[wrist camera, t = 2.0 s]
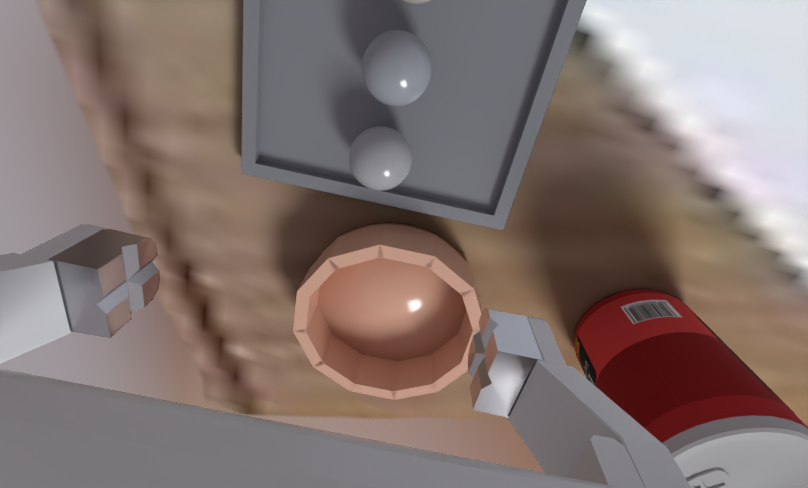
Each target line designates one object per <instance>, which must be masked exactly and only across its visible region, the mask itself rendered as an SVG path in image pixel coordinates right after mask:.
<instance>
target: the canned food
mask: <svg viewBox="0 0 808 488" xmlns="http://www.w3.org/2000/svg"><path fill="white" fill-rule="evenodd" d="M575 351H576V356H577V358H578V360H579V362H580V365H581V367H582V369H583V371H584V373H585V375H586V378H587V380H589V381H590V382H591V383H592V384H593V385H594V386H596V387H597V388H598V389H599V390H600V391H601V392H603V393H604V394H605V395H606V396H607V397H608V398H610V399H611V400H612V401H613V402H614V403H615V404H617V405H618V406H619V407H620V408H621V409H622V410H624V411H625V412H626V413H627V414H628V415H630V416H631V417H632V418H633V419H634V420H635V421H637V422H638V423H639V424H640V425H641V426H642V427H644V428H645V429H646V430H647V431H648V432H649V433H651V434H652V435H653V436H654V437H655V438H656V439H658V440H659V441H660V442H661V443H662V444H663V445H665V446H666V447H667V448H668V450H669V451H670V453H671V455H672V456H673V458H674V460H675V461H676V463H677V465H678V466H679V468H680V470H681V472H682V473H683V475H684V477H685V478H686V480H687V482H688V483H689V485H690V487H691V488H808V427H807V426H806V425H805V424H804V423H803V422H802V421H801V420H800V419H799V418H798V417H797V416H796V415H795V413H794V412H793V411H792V410H791V409H790V408H789V407H788V406H787V405H786V404H785V403H784V402H783V401H782V400H781V399H780V398H779V397H778V396H777V395H776V394H775V393H774V392H773V391H772V390H771V389H770V388H769V387H768V386H767V385H766V384H765V383H764V382H763V381H762V380H761V379H760V378H759V377H758V376H757V375H756V374H755V373H754V372H753V371H752V370H751V369H750V368H749V367H748V366H747V365H746V364H745V363H744V362H743V361H742V360H741V359H740V358H739V357H738V356H737V355H736V354H735V353H734V352H733V351H732V350H731V349H730V348H729V347H728V346H727V345H726V344H725V343H724V342H723V341H722V340H721V339H720V338H719V337H718V336H717V335H716V334H715V333H714V332H713V331H712V330H711V329H710V328H709V327H708V326H707V325H706V324H705V323H704V322H703V321H702V320H701V319H700V318H699V317H698V316H697V315H696V314H695V313H694V312H693V311H692V310H691V309H690V308H689V307H688V306H687V305H686V304H684V303H683V302H682V301H680V300H679V299H677V298H675V297H673V296H670V295H668V294H666V293H663V292H661V291H657V290H652V289H635V290H627V291H624V292H620V293H616V294H614V295H612V296H609V297H607V298H605V299H603V300H602V301H600V302H598V303H597V304H595V305H594V306H593V307H592V308H590V309H589V310H588V311H587V312H586V314H585V315H584V316H583V317H582V318H581V320H580V322H579V324H578V325H577V328H576V331H575Z"/></svg>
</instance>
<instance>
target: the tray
mask: <svg viewBox="0 0 808 488" xmlns="http://www.w3.org/2000/svg"><path fill="white" fill-rule="evenodd" d="M585 3H586V0H431V1H429V2H426V3H422V4H411V3H407V2H404V1H402V0H243V78H242V165H241V174H246V175H250V176H255V177H260V178H264V179H269V180H273V181H278V182H283V183H287V184H292V185H296V186H301V187H306V188H310V189H315V190H319V191H324V192H329V193H333V194H338V195H342V196H347V197H352V198H356V199H361V200H365V201H370V202H375V203H379V204H384V205H388V206H393V207H398V208H402V209H407V210H411V211H416V212H421V213H425V214H430V215H434V216H439V217H444V218H448V219H453V220H457V221H462V222H466V223H471V224H476V225H480V226H485V227H489V228H494V229H499V230H503V228H504V226H505V223H506V220H507V217H508V215H509V212H510V209H511V206H512V204H513V201H514V198H515V195H516V193H517V190H518V187H519V184H520V182H521V179H522V176H523V173H524V171H525V168H526V165H527V162H528V160H529V157H530V154H531V152H532V149H533V146H534V143H535V141H536V138H537V135H538V132H539V130H540V127H541V124H542V121H543V119H544V116H545V113H546V110H547V108H548V105H549V102H550V99H551V97H552V94H553V91H554V88H555V86H556V83H557V80H558V77H559V75H560V72H561V69H562V66H563V64H564V61H565V58H566V55H567V53H568V50H569V47H570V44H571V42H572V39H573V36H574V33H575V31H576V28H577V25H578V22H579V20H580V17H581V14H582V11H583V9H584V6H585ZM394 29H399V30H405V31H408V32H410V33H412V34H414V35H415V36H417V37H418V38H419V39H420V40H421V41H422V42H423V43H424V45H425V46H426V48H427V50H428V52H429V54H430V57H431V62H432V74H431V79H430V82H429V85H428V87H427V89H426V90H425V92H424V93H423V94H422V95H421V96H420V97H419V98H418V99H417V100H416V101H414V102H412V103H410V104H408V105H405V106H389V105H386V104H384V103H382V102H380V101H378V100H377V99H376V98H375V97H374V96H373V95H372V94H371V93H370V92H369V90H368V89H367V87H366V85H365V83H364V80H363V76H362V60H363V56H364V53H365V50H366V48H367V47H368V45H369V43H370V42H371V41H372V40H373V39H374V38H375V37H376V36H378V35H379V34H381V33H383V32H385V31H388V30H394ZM374 126H386V127H390V128H392V129H394V130H396V131H398V132H399V133H400V134H402V135H403V137H404V138H405V139H406V140H407V142H408V144H409V146H410V149H411V153H412V165H411V169H410V171H409V173H408V175H407V177H406V178H405V180H404V181H403V182H402V183H400V184H399V185H398V186H396V187H394V188H392V189H389V190H383V191H379V190H373V189H370V188H367V187H365V186H364V185H362V184H361V183H360V182H359V181H358V180H357V179H356V178H355V176H354V175H353V173H352V171H351V168H350V165H349V151H350V147H351V145H352V143H353V141H354V139H355V138H356V137H357V136H358V135H359V134H360V133H361V132H362V131H364V130H366V129H368V128H370V127H374Z"/></svg>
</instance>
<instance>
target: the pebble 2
mask: <svg viewBox="0 0 808 488" xmlns="http://www.w3.org/2000/svg"><path fill="white" fill-rule="evenodd" d="M349 165H350V168H351V171H352V173H353V175H354V176H355V178H356V179H357V180H358V181H359V182H360V183H361V184H362V185H364V186H365V187H367V188H370V189H373V190H379V191H383V190H389V189H392V188H394V187H396V186H398V185H399V184H400V183H402V182H403V181H404V180H405V178H406V177H407V175H408V173H409V171H410V169H411V165H412V153H411V149H410V146H409V144H408V142H407V140H406V139H405V138H404V137H403V135H402V134H400V133H399V132H398V131H396V130H394V129H392V128H390V127H386V126H374V127H370V128H368V129H366V130H364V131H362V132H361V133H360V134H359V135H358V136H357V137H356V138H355V139H354V141H353V143H352V145H351V147H350V151H349Z"/></svg>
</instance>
